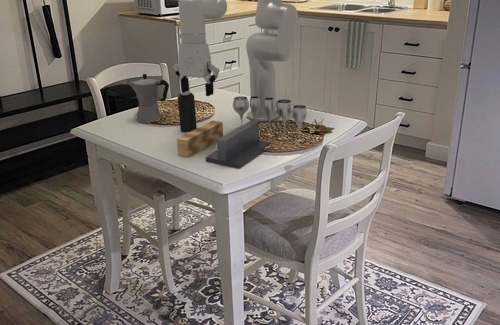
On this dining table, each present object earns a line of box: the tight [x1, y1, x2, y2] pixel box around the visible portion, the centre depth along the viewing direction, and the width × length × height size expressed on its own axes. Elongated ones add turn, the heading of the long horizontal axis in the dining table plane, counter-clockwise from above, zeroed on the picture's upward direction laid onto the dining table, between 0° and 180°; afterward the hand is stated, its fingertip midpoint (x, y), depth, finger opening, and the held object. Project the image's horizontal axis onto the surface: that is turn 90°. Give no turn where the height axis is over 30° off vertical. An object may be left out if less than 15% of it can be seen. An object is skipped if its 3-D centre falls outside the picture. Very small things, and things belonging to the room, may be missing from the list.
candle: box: [177, 76, 198, 133], centre depth 178 cm, size 5×5×25 cm
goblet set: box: [232, 95, 308, 138], centre depth 172 cm, size 28×6×13 cm, turn 59°
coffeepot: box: [128, 73, 170, 124], centre depth 191 cm, size 15×9×18 cm, turn 87°
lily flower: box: [306, 118, 335, 136], centre depth 177 cm, size 12×12×5 cm
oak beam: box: [176, 119, 224, 158], centre depth 166 cm, size 20×4×6 cm, turn 149°
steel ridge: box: [205, 120, 272, 170], centre depth 159 cm, size 20×12×8 cm, turn 149°
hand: (197, 93), depth 160 cm, fingers open, 9 cm apart
